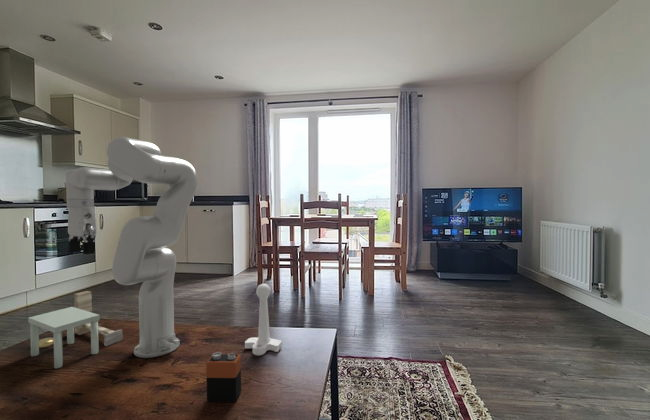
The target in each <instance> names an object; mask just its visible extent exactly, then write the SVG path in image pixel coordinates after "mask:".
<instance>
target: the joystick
mask: <svg viewBox="0 0 650 420" xmlns="http://www.w3.org/2000/svg"><path fill="white" fill-rule="evenodd" d="M255 290H256V291H255V293H256V296H257V297H258V299H259V306H258V332H257V334H258V335H257V337H254V336H253V337H249V338H247V339H246V340H245V341H244V348H245V349H247V350H248V349H252V354H253V355H255V356H262V355H264V354H266V352H267V351H272V352H275V353H276V352H277V353H278V352H279V351H280V350H282V349H283V343H282V342H283V341H282V340H281V339H276V338H271V334H270V321H269V320H270V319H269V318H270V317H269V306H268V298H269V296H270V295H271V291H272V289H271V286H270V285H269V284H267V283H261V284H258V286H257V287H256V289H255Z"/></svg>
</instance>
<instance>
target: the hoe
mask: <svg viewBox="0 0 650 420" xmlns="http://www.w3.org/2000/svg"><path fill="white" fill-rule="evenodd" d="M73 296H74V297H73V298H74V299H73V300H74V303H73V304H74V306H73V307H75V308H78V309H81V310H85V311H88V312H92V313H93V302H92V300H93V299H92V297H93V296H92V291H90V290H89V291H88V290H85V291H81V292H77V293H73ZM86 333H91V322H90V323H87V324H84V325H80V326H77V327H74V334H76V335H78V336H80V335H83V334H86ZM98 334H101V335H103V346H104V347H108V346H110V345H113V344H116V343H119V342H121V341H123V335H124V334H123V329H121V328H120V329H117V330H112V329H109V328H106V327H104V326H101V325H98Z"/></svg>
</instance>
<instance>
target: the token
mask: <svg viewBox="0 0 650 420" xmlns="http://www.w3.org/2000/svg"><path fill="white" fill-rule="evenodd" d="M53 345H54V338H53V337H45V338H41V339H40V338H39V349H41V348H42V349H43V348H46V347H50V346H53Z"/></svg>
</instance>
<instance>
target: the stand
mask: <svg viewBox="0 0 650 420" xmlns="http://www.w3.org/2000/svg"><path fill="white" fill-rule="evenodd" d="M100 318H101V317H100V314H98V313H94V312H93V311H92V312H88V311H85V310H81V309H78V308H75V307H74V306H70V307H66V308H61V309H57V310H53V311H49V312H46V313H41V314H37V315H34V316H29V317H27V319H28V320H27V322H28V323H29V332H30V333H29V334H30V335H29V336H30V357H36V356H38V355H40V348H39V340H40V335H39V328H40V329H43V330H46V331H49V332H52V333H53V335H52V336H53V337H52V338H54V344H53V366H54V367H53V368H54V369H60V368H62V367H63V366H64V365H63V363H64V361H63V360H64V359H63V332H64V331H66V344H67V345H72V344H74V343H75V327H77V326H80V325H84V324H87V323H90V322H91V331H90V353H91V355H96V354H98V353H99V351H100V350H99V349H100V348H99V333H98V326H99V321H100V320H101V319H100Z"/></svg>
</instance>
